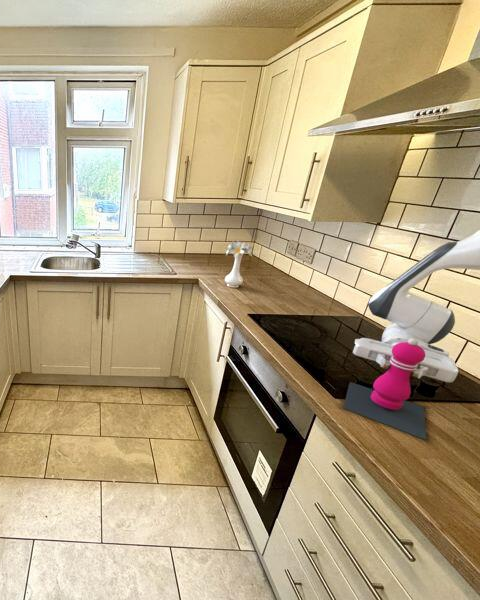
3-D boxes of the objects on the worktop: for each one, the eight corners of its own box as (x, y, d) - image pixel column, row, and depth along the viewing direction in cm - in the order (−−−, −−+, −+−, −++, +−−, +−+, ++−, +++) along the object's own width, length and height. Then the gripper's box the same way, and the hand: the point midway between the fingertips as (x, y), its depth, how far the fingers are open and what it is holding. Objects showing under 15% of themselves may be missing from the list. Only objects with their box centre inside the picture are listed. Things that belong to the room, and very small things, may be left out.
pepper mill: (409, 407, 85) (441, 343, 77) (393, 414, 83) (425, 348, 75) (377, 391, 91) (405, 330, 84) (362, 397, 89) (388, 335, 81)
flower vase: (239, 281, 185) (248, 238, 176) (248, 291, 169) (259, 245, 159) (216, 279, 188) (223, 237, 178) (223, 290, 171) (231, 244, 161)
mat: (423, 407, 87) (423, 406, 87) (426, 440, 76) (426, 439, 76) (349, 382, 97) (349, 381, 97) (343, 408, 86) (343, 407, 86)
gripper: (358, 328, 97) (354, 345, 87) (457, 353, 84) (464, 376, 74) (352, 346, 99) (346, 364, 90) (447, 373, 86) (452, 397, 77)
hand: (400, 370), depth 82 cm, fingers closed on pepper mill, 5 cm apart
